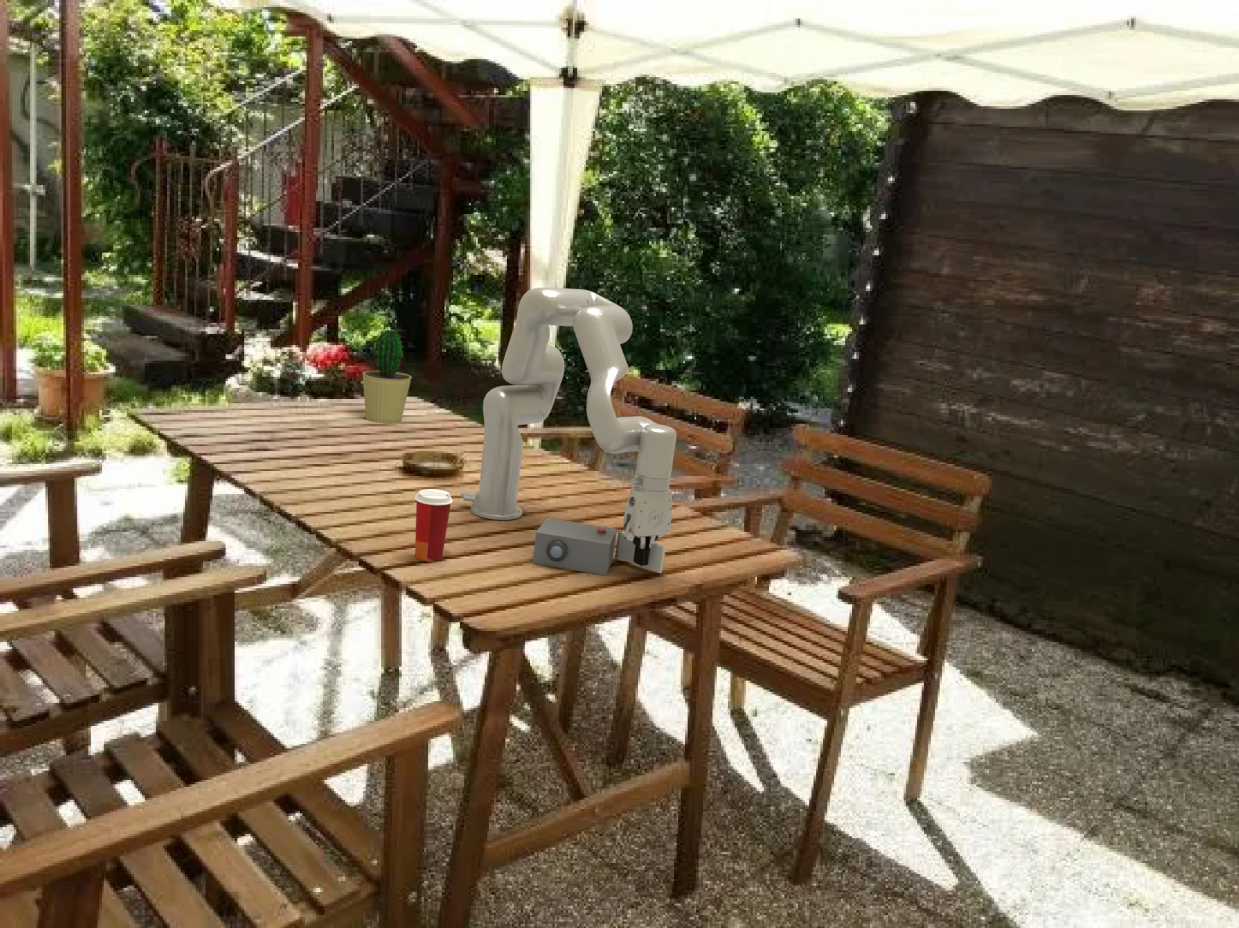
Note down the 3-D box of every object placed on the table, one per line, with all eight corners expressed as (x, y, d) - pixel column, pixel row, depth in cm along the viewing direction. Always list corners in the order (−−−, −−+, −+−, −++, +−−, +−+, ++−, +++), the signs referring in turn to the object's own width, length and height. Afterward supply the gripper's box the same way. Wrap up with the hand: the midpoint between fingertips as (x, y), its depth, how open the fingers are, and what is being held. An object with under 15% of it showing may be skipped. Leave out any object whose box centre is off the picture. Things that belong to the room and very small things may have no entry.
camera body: (531, 565, 228) (535, 530, 226) (543, 547, 241) (547, 514, 239) (604, 577, 226) (609, 542, 224) (613, 558, 239) (617, 525, 237)
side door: (659, 574, 232) (663, 546, 230) (613, 557, 239) (617, 530, 237) (664, 572, 233) (668, 544, 232) (618, 556, 240) (622, 529, 239)
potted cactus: (417, 422, 349) (425, 331, 342) (384, 426, 336) (391, 332, 330) (383, 412, 357) (390, 323, 350) (349, 416, 344) (355, 324, 337)
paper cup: (449, 553, 228) (455, 490, 225) (444, 565, 221) (450, 500, 218) (412, 549, 228) (418, 486, 225) (406, 561, 220) (412, 496, 217)
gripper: (635, 489, 220) (623, 573, 224) (689, 485, 229) (677, 566, 233) (613, 479, 225) (602, 561, 230) (667, 476, 235) (655, 554, 239)
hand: (640, 563), depth 231 cm, fingers closed
